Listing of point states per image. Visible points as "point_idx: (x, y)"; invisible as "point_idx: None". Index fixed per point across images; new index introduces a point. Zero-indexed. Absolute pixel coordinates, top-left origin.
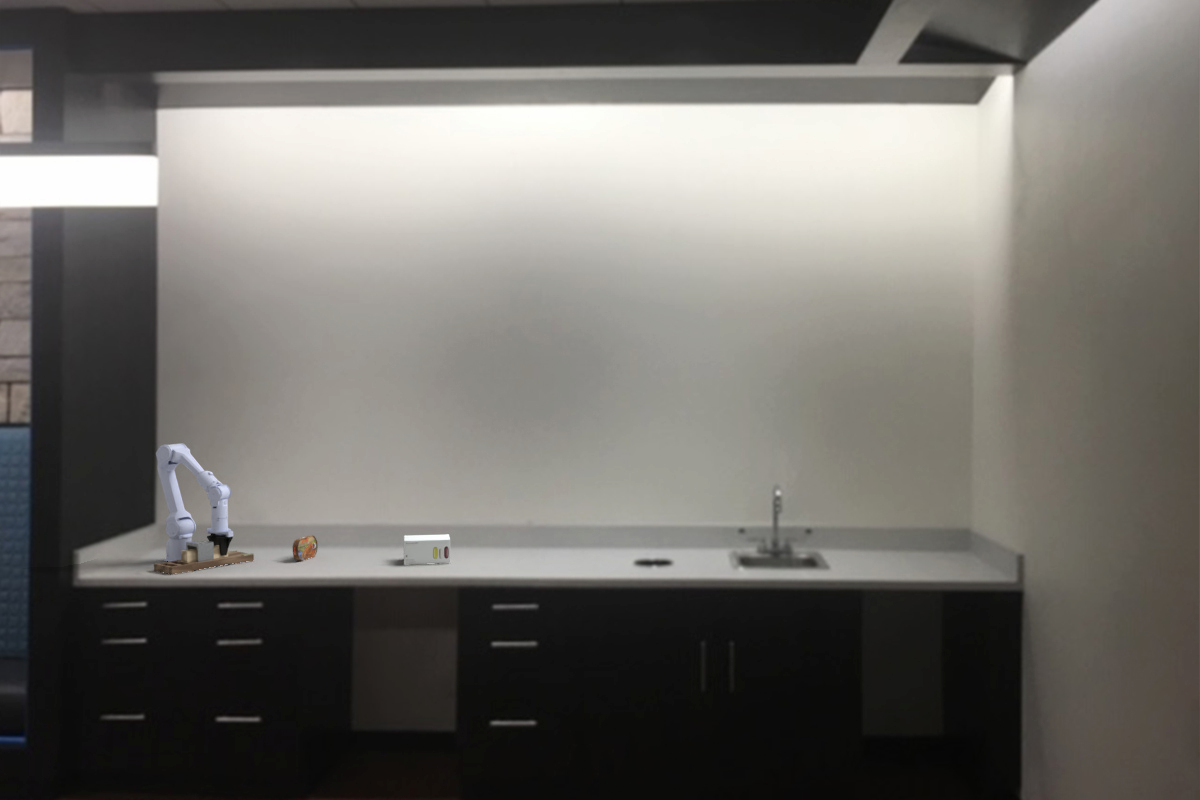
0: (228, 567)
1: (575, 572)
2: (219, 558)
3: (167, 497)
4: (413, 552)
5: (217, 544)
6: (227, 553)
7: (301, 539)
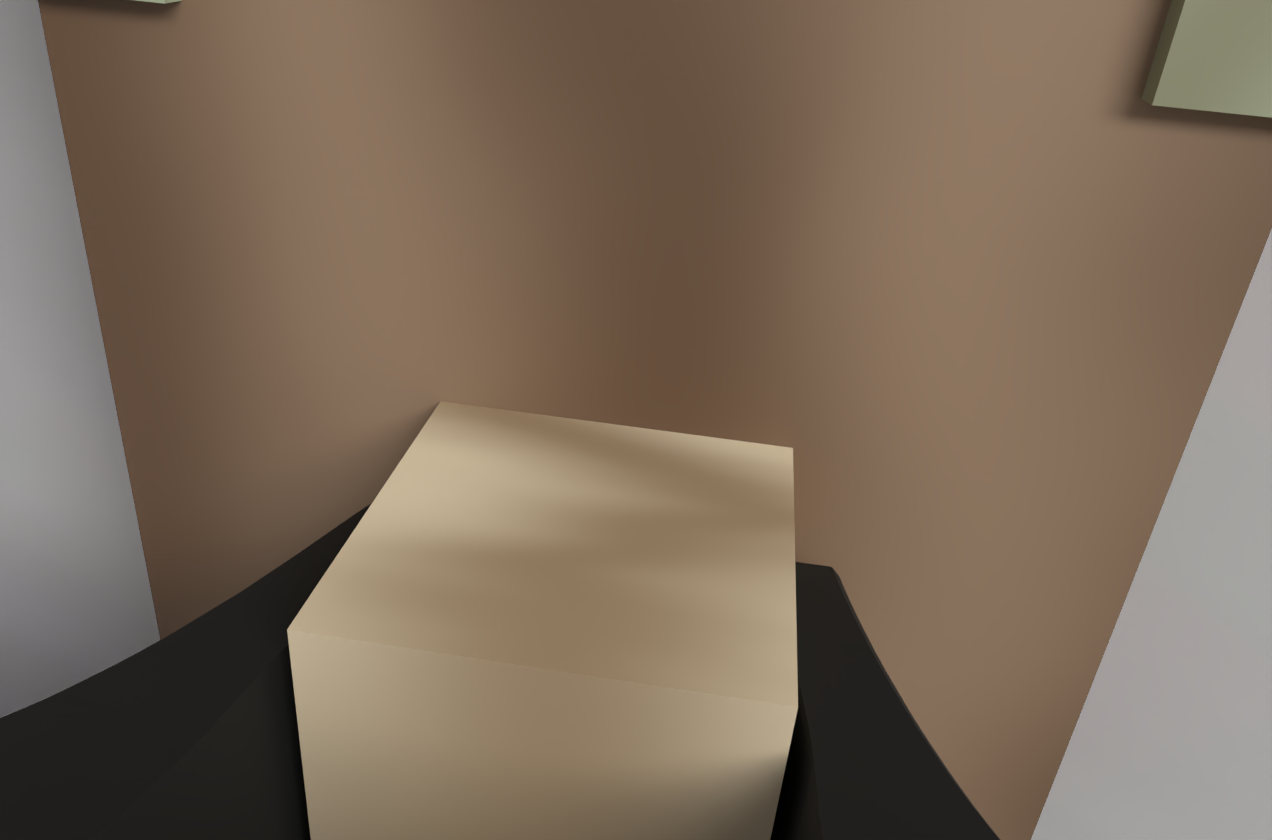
0: (1257, 704)
1: None
2: None
3: None
4: None
5: (268, 796)
6: (793, 524)
7: None
